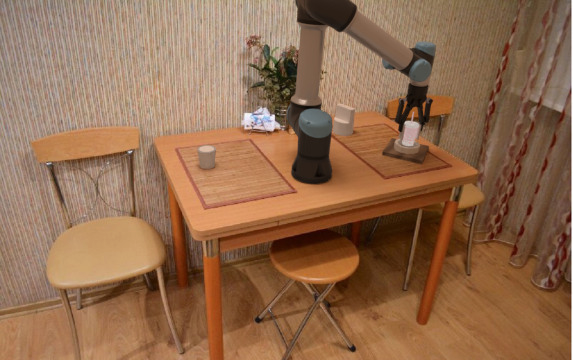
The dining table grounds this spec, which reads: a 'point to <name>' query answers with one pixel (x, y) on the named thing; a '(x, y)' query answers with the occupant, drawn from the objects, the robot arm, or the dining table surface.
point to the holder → (393, 153)
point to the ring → (406, 150)
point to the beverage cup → (410, 132)
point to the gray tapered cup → (206, 156)
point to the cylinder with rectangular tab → (344, 120)
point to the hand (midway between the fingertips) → (408, 138)
